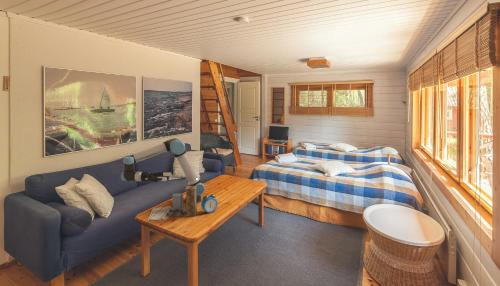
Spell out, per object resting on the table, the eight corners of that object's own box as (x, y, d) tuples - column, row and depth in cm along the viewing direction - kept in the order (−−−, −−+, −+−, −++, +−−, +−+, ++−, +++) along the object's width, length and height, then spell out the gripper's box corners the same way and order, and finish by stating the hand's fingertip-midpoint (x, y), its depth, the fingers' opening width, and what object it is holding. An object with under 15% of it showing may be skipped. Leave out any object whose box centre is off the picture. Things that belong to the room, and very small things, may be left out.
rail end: (172, 210, 225) (172, 195, 222) (174, 208, 229) (173, 193, 227) (182, 210, 225) (181, 195, 223) (183, 208, 229) (183, 193, 227)
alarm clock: (203, 214, 218) (203, 197, 215) (200, 212, 223) (200, 195, 220) (217, 211, 225) (217, 194, 223) (214, 208, 230) (214, 192, 228)
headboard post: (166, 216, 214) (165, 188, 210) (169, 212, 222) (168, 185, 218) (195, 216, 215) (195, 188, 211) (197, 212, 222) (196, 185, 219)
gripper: (147, 176, 221) (173, 176, 222) (136, 186, 196) (164, 186, 197) (147, 168, 220) (172, 168, 221) (135, 176, 195) (164, 176, 196)
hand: (168, 176), depth 209 cm, fingers open, 13 cm apart
